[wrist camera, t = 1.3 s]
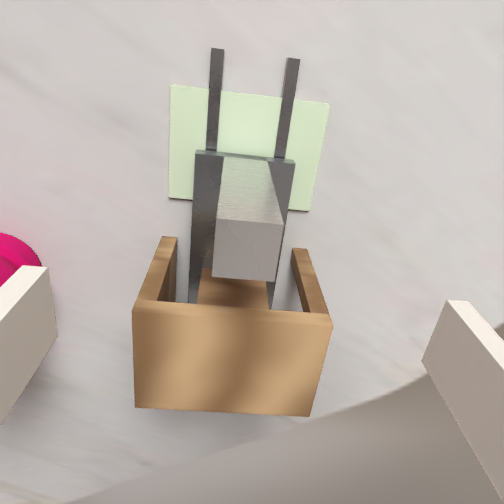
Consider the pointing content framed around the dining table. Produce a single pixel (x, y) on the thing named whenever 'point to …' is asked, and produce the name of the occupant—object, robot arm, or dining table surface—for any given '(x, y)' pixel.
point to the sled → (238, 217)
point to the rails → (215, 97)
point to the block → (231, 292)
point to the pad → (244, 136)
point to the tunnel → (227, 347)
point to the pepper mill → (14, 256)
